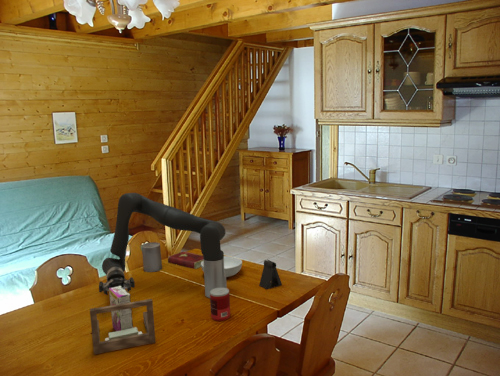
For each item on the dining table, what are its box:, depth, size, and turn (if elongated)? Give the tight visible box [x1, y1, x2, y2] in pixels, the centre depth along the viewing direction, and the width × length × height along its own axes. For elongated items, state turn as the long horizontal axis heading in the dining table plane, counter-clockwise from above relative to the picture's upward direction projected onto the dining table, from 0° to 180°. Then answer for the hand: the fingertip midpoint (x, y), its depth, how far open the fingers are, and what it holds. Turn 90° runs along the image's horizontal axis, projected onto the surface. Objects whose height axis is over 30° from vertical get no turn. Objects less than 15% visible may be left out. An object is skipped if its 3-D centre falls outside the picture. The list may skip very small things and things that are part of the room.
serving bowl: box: [200, 255, 243, 278], centre depth 228 cm, size 21×21×7 cm
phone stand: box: [258, 259, 283, 290], centre depth 210 cm, size 9×6×12 cm, turn 123°
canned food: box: [209, 287, 231, 322], centre depth 179 cm, size 8×8×11 cm
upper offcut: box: [108, 326, 139, 340], centre depth 162 cm, size 10×4×2 cm, turn 113°
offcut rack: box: [89, 298, 156, 355], centre depth 166 cm, size 21×20×16 cm
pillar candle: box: [141, 241, 163, 273], centre depth 239 cm, size 10×10×15 cm
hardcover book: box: [167, 250, 203, 270], centre depth 248 cm, size 12×21×4 cm, turn 53°
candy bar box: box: [108, 286, 134, 332], centre depth 169 cm, size 11×5×16 cm, turn 34°
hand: (117, 291), depth 180 cm, fingers open, 8 cm apart
